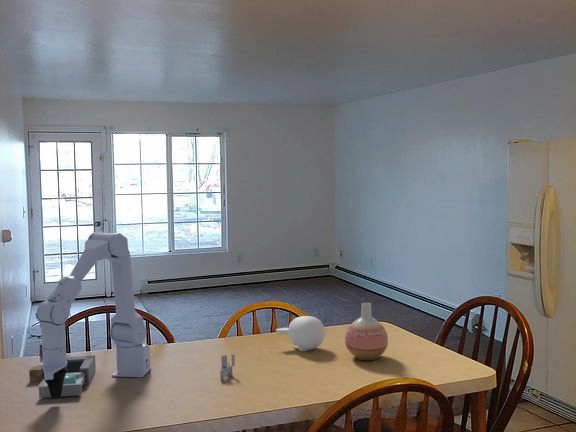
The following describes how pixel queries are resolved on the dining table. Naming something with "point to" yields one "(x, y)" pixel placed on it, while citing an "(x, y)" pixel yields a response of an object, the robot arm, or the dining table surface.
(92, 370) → the grey drawer housing
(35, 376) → the brown rectangular block
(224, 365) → the architectural model
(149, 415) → the dining table surface
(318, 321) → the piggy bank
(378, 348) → the vase
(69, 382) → the teal rounded dome
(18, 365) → the dining table surface
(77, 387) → the tray
